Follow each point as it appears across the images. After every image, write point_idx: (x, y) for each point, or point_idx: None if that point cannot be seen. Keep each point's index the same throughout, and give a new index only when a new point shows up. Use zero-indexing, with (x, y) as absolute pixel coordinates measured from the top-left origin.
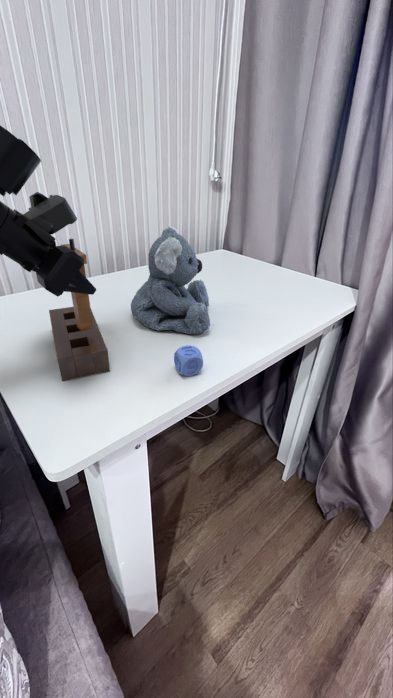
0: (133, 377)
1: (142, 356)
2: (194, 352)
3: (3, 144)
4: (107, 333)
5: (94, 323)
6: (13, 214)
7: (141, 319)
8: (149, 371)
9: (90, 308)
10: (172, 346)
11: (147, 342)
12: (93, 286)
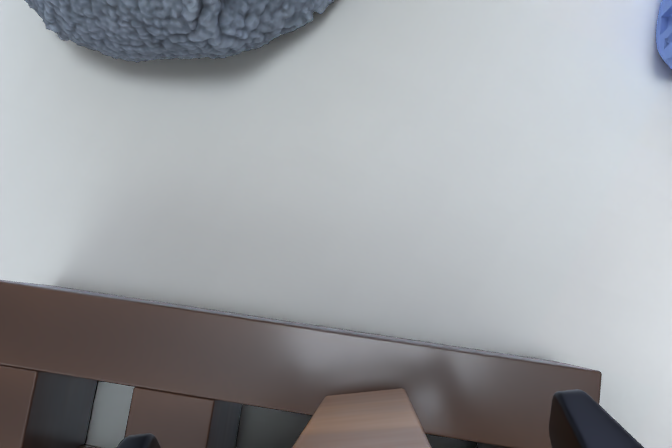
0: (653, 281)
1: (504, 174)
2: None
3: None
4: (204, 248)
5: (256, 334)
6: None
7: (243, 46)
8: (640, 196)
9: (411, 408)
10: (487, 9)
11: (393, 100)
12: (629, 435)
